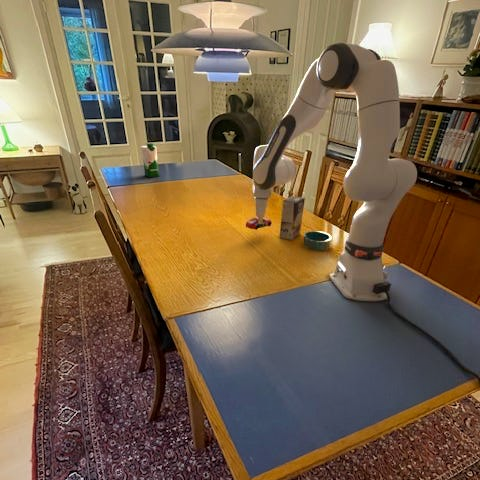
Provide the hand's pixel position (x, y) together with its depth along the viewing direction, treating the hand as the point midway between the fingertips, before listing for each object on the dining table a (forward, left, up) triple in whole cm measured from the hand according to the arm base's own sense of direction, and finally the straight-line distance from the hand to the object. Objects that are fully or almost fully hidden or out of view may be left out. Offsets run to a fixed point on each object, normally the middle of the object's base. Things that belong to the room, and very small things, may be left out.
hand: (260, 220), depth 149 cm
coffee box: (0, -14, -7) cm, 15 cm away
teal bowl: (-11, -24, -6) cm, 27 cm away
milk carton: (+98, +71, -7) cm, 121 cm away
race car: (0, +1, -3) cm, 3 cm away
